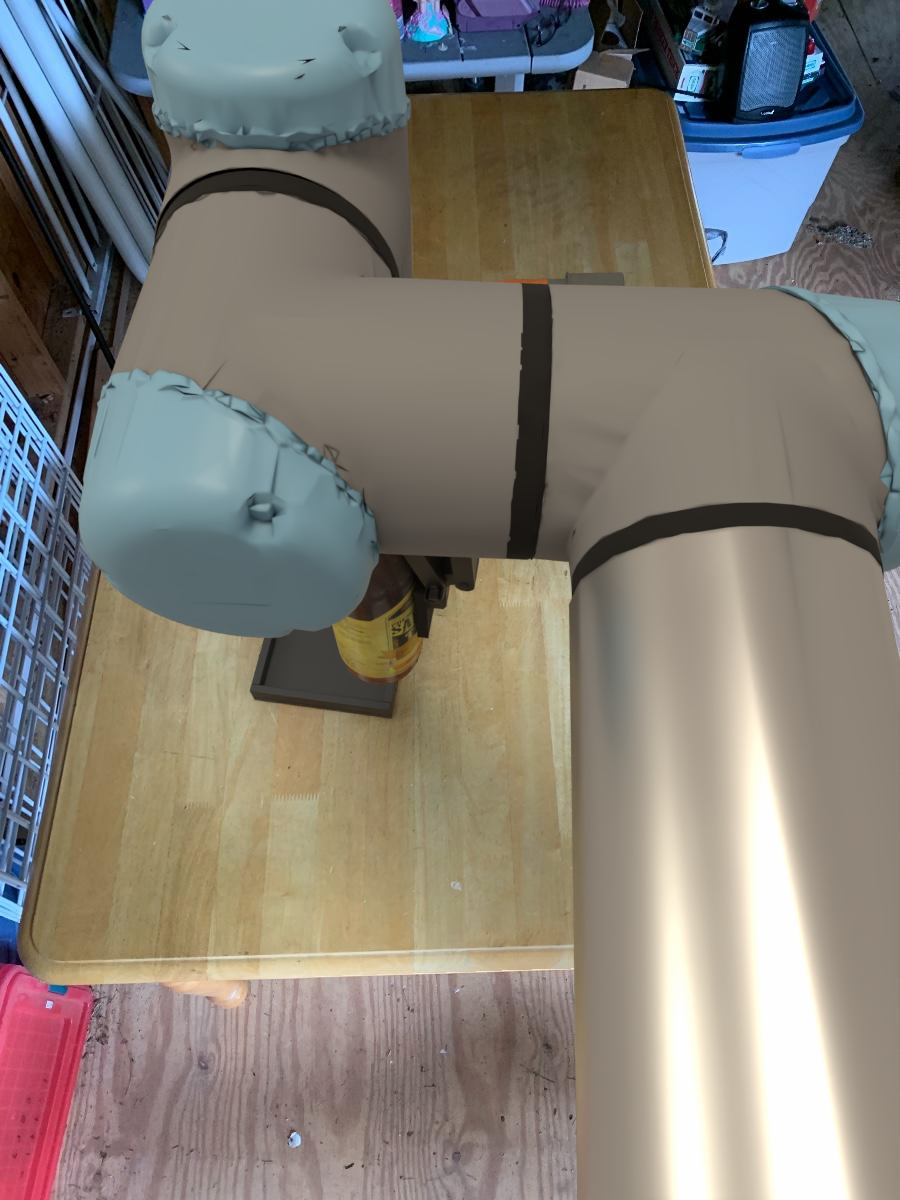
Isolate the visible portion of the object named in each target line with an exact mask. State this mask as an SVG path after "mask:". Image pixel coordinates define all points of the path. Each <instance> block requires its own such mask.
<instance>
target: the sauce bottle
mask: <svg viewBox="0 0 900 1200" xmlns="http://www.w3.org/2000/svg"><path fill="white" fill-rule="evenodd" d="M416 578H417V575H416V573H415V572H414V570H413V569H412V567H411V566H410V564H409V563H408V561H407V560H406V558H405V557H404V556H403V555H399V554H379V561H378V564H377V565H376V567H375V568H374V569H373V571H372V574H371V578H370V581H369V585H368V588H367V591H366V593H365V596H364V598H363V600H362V601H361V602H360V604H359V605H358V606H357V607H356V609H355V610H354V611H353V612H352V613H351V614H350V615H349V616H347V617H346V618H344V619H343V620H342V621H339V622H337V623H335V624H333V625H332V626H333V630H334V634H335V638H336V641H337V645H338V649H339V652H340V655H341V657H342V659H343V661H344V662H345V664H346V665H347V667H348V670H349V671H350V672H351V673H352V674H353V675H354V676H356V677H357V678H359V679H360V680H363V681H365V682H368V683H372V684H375V685H385V684H391V683H394V682H396V681H398V682H399V681H400V680H402V679H404V678H405V677H406V676H408V674H410V673H411V672H412V670H413V669H414V668H415V666H416V664H417V663H419V659H420V655H421V653H422V648H423V645H424V644H423V643H424V638H421V637H417V626H416V615H415V603H414V588H415V583H416Z"/></svg>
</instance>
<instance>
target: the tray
mask: <svg viewBox="0 0 900 1200" xmlns="http://www.w3.org/2000/svg"><path fill="white" fill-rule="evenodd" d="M398 683H399V680H398V681H396V682H394V683H391V684H385V685H375V684H372V683H368V682H365V681H363V680H360V679H359V678H357V677H356V676H354V675H353V674H352V673H351V672H350V671H349V670H348V667H347V665H346V664H345V662H344V661H343V659H342V657H341V655H340V652H339V649H338V645H337V641H336V638H335V634H334V630H333V626H332V625H331V626H330V627H327V628H324V629H321V630H318V631H314V632H313V631H305V630H298V629H294V630H293V631H292V632H291V633H290V634H288V635H285V636H282V637H277V638H263V640H262V644H261V647H260V651H259V655H258V658H257V663H256V666H255V670H254V673H253V676H252V681H251V684H250V687H249V693H250V695H251V696H252V697H253V699H254V700H255V701H263V702H268V703H269V702H270V703H277V704H284V705H291V706H299V707H305V708H313V709H319V710H326V711H327V710H328V711H335V712H343V713H349V714H357V715H363V716H370V717H379V718H385V719H392V715H393V711H394V706H395V700H396V694H397V688H398Z"/></svg>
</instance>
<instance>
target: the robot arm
mask: <svg viewBox="0 0 900 1200" xmlns="http://www.w3.org/2000/svg"><path fill="white" fill-rule="evenodd" d="M400 32H401V31H400V27H399V22H398V19H397V15H396V12H395V10H394V8H393V7H392V5H391V2H390V0H152V1H151V3H150V5H149V7H148V8H147V10H146V13H145V15H144V18H143V22H142V26H141V53H142V57H143V61H144V65H145V69H146V74H147V77H148V81H149V85H150V89H151V93H152V97H153V103H152V105H151V112H152V115H153V118H154V121H155V124H156V126H157V127H158V128H159V129H160V130H163V133H164V137H165V139H166V142H167V145H168V148H169V153H170V160H171V172H170V179H169V182H168V185H167V187H166V191H165V195H164V197H163V200H162V204H161V207H160V210H159V212H158V216H157V220H156V223H155V226H154V237H153V239H154V241H153V246H152V249H151V250H152V252H151V262H150V265H149V267H148V270H147V274H146V276H145V279H144V281H143V283H142V287H141V289H140V290H141V291H140V292H139V296H138V298H137V301H136V304H135V307H134V310H133V312H132V316H131V318H130V321H129V323H128V327H127V329H126V332H125V335H124V338H123V339H122V343H121V346H120V349H119V352H118V355H117V358H116V360H115V363H114V366H113V368H112V372H111V374H110V376H109V380H107V381H106V382H105V384H103V385H102V389H101V391H100V397H99V400H98V401H97V403H96V404H97V411H96V416H95V420H94V425H93V430H92V434H91V440H90V444H89V447H88V448H89V449H88V453H87V457H86V461H85V465H84V472H83V478H82V482H83V485H82V491H81V497H80V502H79V508H78V529H79V536H80V539H81V542H82V545H83V547H84V550H85V552H86V554H87V556H88V557H89V558H90V559H91V561H92V562H93V564H94V567H95V568H96V569H99V570H100V571H101V573H102V575H103V576H104V578H105V580H106V581H107V582H108V583H109V584H110V585H111V586H112V587H113V588H114V589H115V590H116V591H117V592H118V593H119V594H121V595H122V596H124V597H126V598H127V599H128V600H130V601H131V602H133V603H134V604H137V605H138V606H139V607H142V608H143V609H145V610H147V611H149V612H151V613H153V614H155V615H158V616H160V617H163V618H165V619H166V620H169V621H172V622H175V623H178V624H180V625H184V626H186V627H191V628H195V629H199V630H202V631H207V632H210V633H216V634H221V635H227V636H234V637H241V638H242V637H243V638H256V639H260V638H261V639H264V638H277V637H282V636H285V635H288V634H290V633H291V632H292V631H293V630H294V629H298V630H305V631H313V632H314V631H318V630H321V629H324V628H327V627H330V626H331V625H333V624H335V623H337V622H339V621H342V620H343V619H344V618H346V617H347V616H349V615H350V614H351V613H352V612H353V611H354V610H355V609H356V607H357V606H358V605H359V604H360V602H361V601H362V600H363V598H364V596H365V593H366V591H367V588H368V585H369V581H370V578H371V574H372V571H373V569H374V568H375V567H376V565H377V564H378V561H379V554H399V555H403V556H404V557H405V558H406V560H407V561H408V563H409V564H410V566H411V567H412V569H413V570H414V572H415V573H416V575H417V578H416V583H415V588H414V603H415V615H416V626H417V637H421V638H423V639H429V638H430V637H429V636H430V632H431V627H432V622H433V621H432V620H433V615H434V610H435V609H438V610H444V609H445V608H446V607H447V606H448V601H449V594H450V589H451V586H454V587H455V588H456V589H457V590H459V591H461V592H472V591H475V588H476V582H477V575H478V570H479V565H480V564H479V563H480V559H493V560H494V559H497V560H518V561H519V560H520V561H521V560H523V561H529V560H531V561H533V560H541V561H542V560H543V561H550V562H551V561H553V562H562V563H568V569H569V577H570V588H571V599H570V601H569V603H568V636H569V638H568V639H569V640H568V641H569V645H568V646H569V647H568V649H569V706H570V707H569V709H570V710H569V712H570V715H569V716H570V717H569V718H570V781H571V783H570V786H571V792H570V793H571V794H570V795H571V851H572V852H571V853H572V855H571V856H572V857H571V858H572V859H571V861H572V862H571V863H572V922H573V923H572V925H573V926H572V927H573V928H572V930H573V933H572V934H573V989H574V990H573V991H574V992H573V999H574V1000H573V1001H574V1002H573V1004H574V1005H573V1006H574V1011H573V1012H574V1063H575V1064H574V1072H575V1073H574V1074H575V1077H574V1078H575V1081H574V1082H575V1139H576V1140H575V1141H576V1142H575V1143H576V1145H575V1146H576V1149H575V1150H576V1154H575V1155H576V1200H900V653H899V648H898V643H897V638H896V634H895V628H894V625H893V619H892V614H891V609H890V604H889V600H888V594H887V589H886V585H885V573H886V572H890V571H893V570H895V569H898V568H899V567H900V301H897V300H896V301H895V300H890V299H889V300H888V299H887V300H886V299H877V298H869V297H868V298H866V297H857V296H856V297H855V296H847V295H840V294H832V293H831V294H830V293H824V292H816V291H815V292H814V291H812V290H809V289H806V288H804V287H799V286H793V285H768V286H763V287H759V288H735V287H734V288H733V287H732V288H731V287H692V286H691V287H687V286H686V287H685V286H644V285H642V286H641V285H637V286H636V285H625V286H604V285H560V284H535V283H506V282H492V281H481V280H480V281H479V280H460V279H459V280H458V279H457V280H456V279H455V280H454V279H438V278H437V279H434V278H433V279H432V278H413V253H412V251H413V250H412V249H413V248H412V247H413V246H412V245H413V244H412V209H411V206H412V205H411V184H410V183H411V182H410V162H409V161H410V158H409V157H410V156H409V153H410V152H409V129H408V128H409V120H410V118H411V115H412V101H411V99H410V97H409V96H408V95H407V91H406V82H405V80H406V79H405V71H404V62H403V61H404V60H403V53H402V41H401V33H400Z"/></svg>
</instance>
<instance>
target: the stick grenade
mask: <svg viewBox="0 0 900 1200" xmlns="http://www.w3.org/2000/svg"><path fill="white" fill-rule="evenodd" d="M564 276H565V277H564V278H517V279H516V278H512V279H502V280H494V281H492V280H491V282H506V283H535V284H560V285H604V286H626V285H625V275H624V273H623V272H620V271H619V272H617V271H615V272H569V271H566V272H565V275H564Z"/></svg>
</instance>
